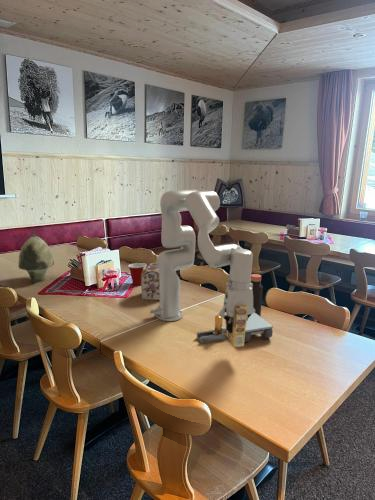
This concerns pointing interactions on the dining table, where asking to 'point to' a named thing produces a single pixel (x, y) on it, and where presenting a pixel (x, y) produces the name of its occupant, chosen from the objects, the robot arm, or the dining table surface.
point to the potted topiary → (35, 258)
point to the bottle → (257, 293)
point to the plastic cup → (136, 272)
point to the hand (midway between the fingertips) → (235, 330)
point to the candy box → (238, 327)
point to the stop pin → (218, 325)
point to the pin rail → (210, 336)
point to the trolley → (257, 326)
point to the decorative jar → (150, 282)
